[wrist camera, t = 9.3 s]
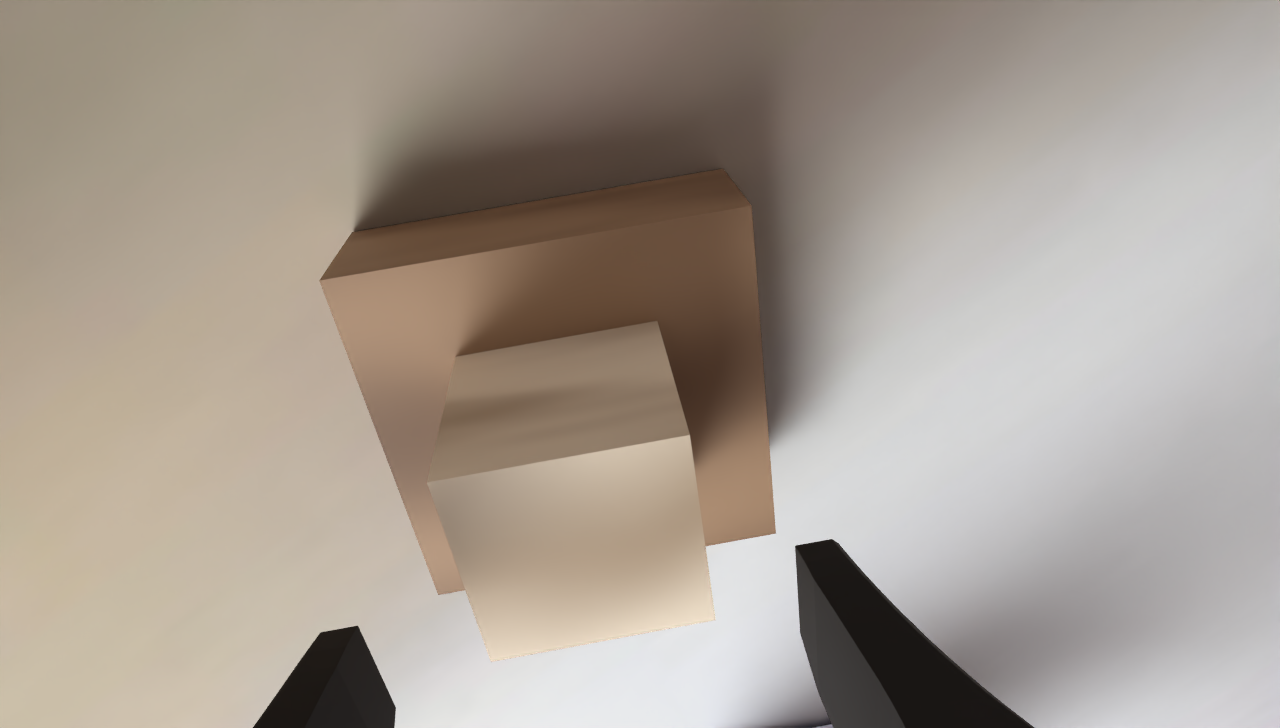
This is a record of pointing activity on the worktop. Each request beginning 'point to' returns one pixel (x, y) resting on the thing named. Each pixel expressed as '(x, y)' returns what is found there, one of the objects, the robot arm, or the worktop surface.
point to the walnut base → (566, 324)
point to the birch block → (571, 492)
